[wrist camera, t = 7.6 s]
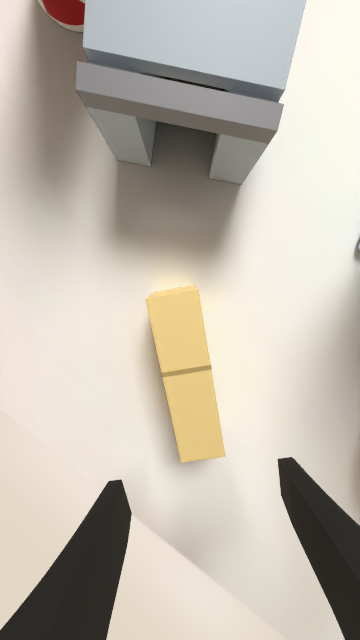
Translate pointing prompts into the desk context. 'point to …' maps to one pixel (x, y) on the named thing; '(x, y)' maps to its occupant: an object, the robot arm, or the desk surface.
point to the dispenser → (188, 73)
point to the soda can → (66, 12)
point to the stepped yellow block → (186, 372)
